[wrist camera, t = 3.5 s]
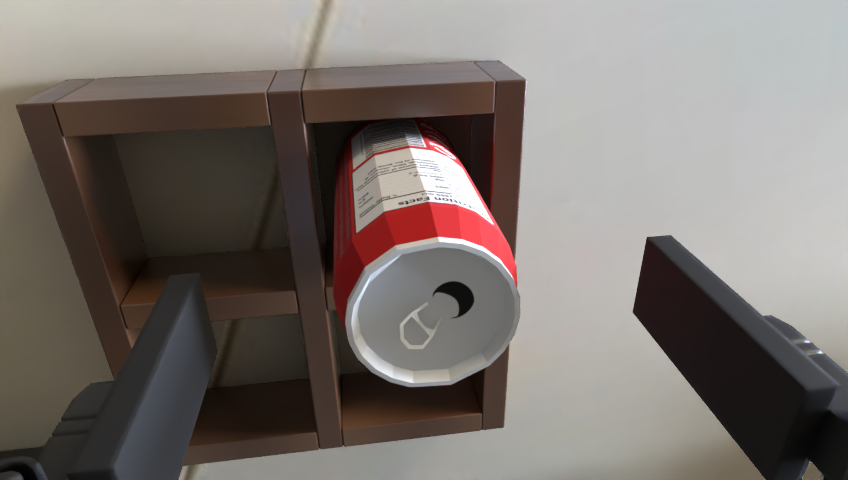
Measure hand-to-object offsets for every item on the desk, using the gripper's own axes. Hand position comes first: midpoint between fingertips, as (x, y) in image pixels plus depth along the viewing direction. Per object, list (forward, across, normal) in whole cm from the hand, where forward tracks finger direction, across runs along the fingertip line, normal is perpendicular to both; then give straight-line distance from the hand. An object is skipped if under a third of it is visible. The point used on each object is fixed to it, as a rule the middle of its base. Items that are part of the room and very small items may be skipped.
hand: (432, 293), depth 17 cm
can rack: (+10, -4, -4) cm, 12 cm away
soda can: (+11, 0, 0) cm, 11 cm away
